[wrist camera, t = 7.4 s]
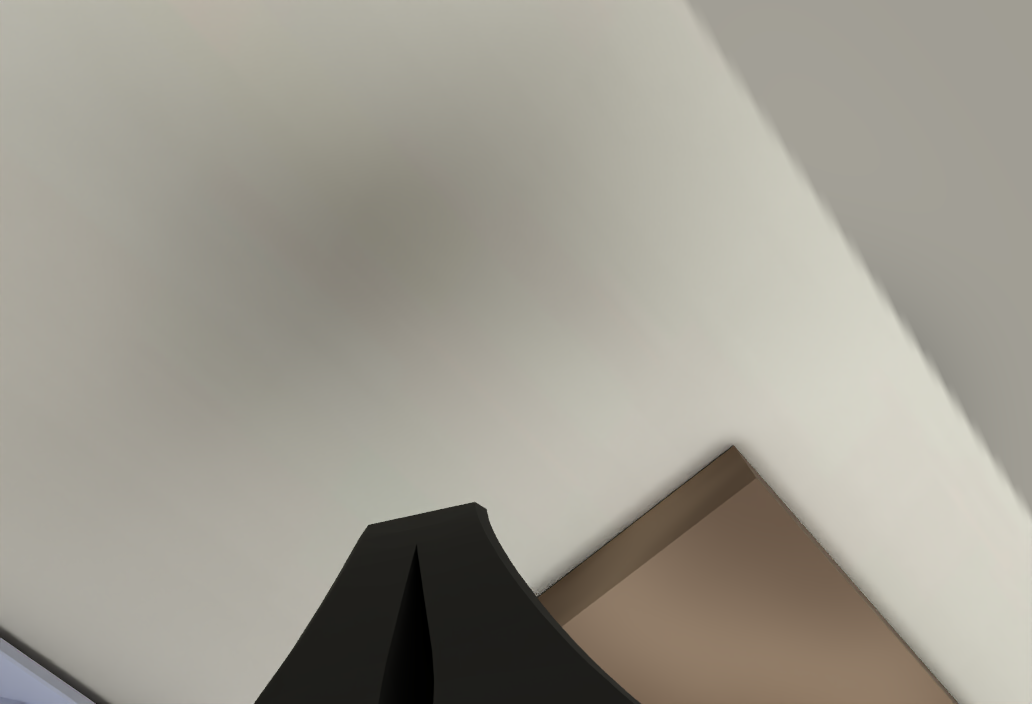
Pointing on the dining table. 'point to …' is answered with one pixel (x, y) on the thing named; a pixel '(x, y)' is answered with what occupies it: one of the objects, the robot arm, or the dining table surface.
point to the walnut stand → (733, 607)
